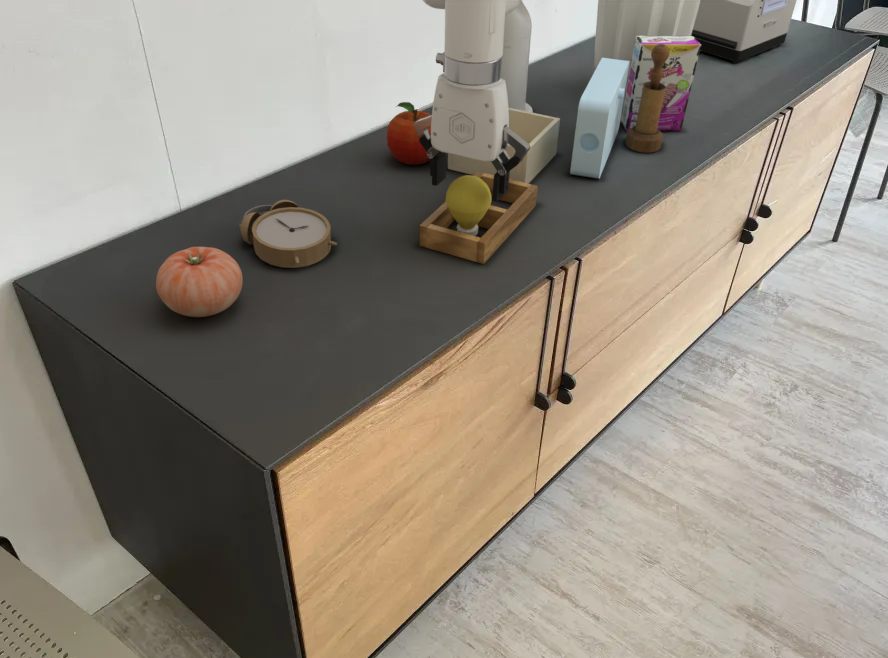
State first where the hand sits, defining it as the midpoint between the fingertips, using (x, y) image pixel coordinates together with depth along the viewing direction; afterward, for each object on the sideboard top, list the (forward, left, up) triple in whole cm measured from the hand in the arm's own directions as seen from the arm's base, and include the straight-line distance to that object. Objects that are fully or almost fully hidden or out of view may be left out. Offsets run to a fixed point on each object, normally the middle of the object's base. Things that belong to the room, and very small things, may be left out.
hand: (468, 189), depth 112 cm
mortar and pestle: (+14, +46, -9) cm, 49 cm away
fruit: (-20, +20, -9) cm, 30 cm away
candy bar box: (+13, +55, -9) cm, 57 cm away
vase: (+5, +69, -9) cm, 70 cm away
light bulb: (0, 0, -9) cm, 9 cm away
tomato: (-23, -32, -9) cm, 40 cm away
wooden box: (-6, +27, -8) cm, 29 cm away
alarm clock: (-23, -14, -9) cm, 28 cm away
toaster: (+13, +113, -9) cm, 114 cm away
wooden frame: (0, +5, -8) cm, 10 cm away
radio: (+7, +39, -9) cm, 41 cm away
